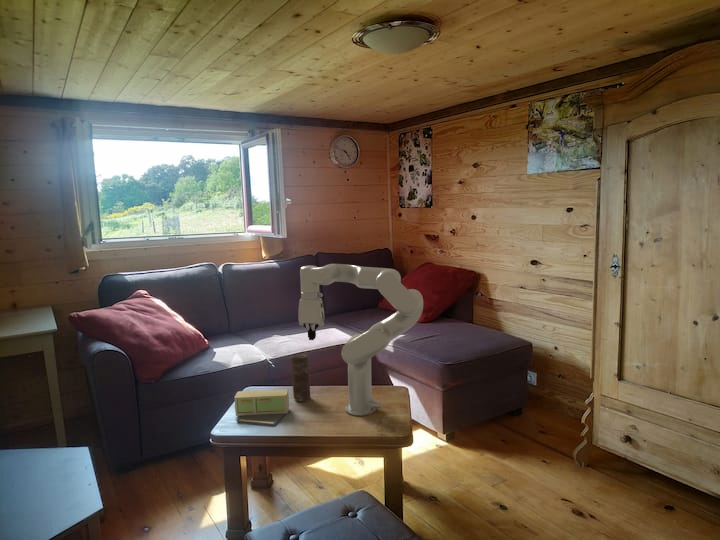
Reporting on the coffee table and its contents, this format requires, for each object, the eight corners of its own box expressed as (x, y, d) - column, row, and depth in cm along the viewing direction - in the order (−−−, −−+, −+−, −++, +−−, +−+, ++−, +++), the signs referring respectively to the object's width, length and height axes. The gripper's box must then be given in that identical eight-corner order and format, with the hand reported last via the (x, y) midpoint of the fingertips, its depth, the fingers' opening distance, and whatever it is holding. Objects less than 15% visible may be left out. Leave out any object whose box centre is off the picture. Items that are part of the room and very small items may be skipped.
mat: (288, 411, 203) (288, 409, 203) (274, 426, 190) (274, 424, 190) (253, 408, 207) (252, 406, 207) (237, 422, 194) (236, 420, 193)
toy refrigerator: (287, 414, 198) (234, 416, 197) (289, 407, 206) (238, 408, 205) (286, 396, 197) (233, 397, 196) (288, 389, 204) (237, 390, 203)
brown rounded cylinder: (290, 401, 213) (288, 357, 210) (297, 395, 220) (295, 352, 217) (306, 403, 211) (304, 358, 208) (313, 396, 218) (311, 353, 215)
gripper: (330, 294, 203) (331, 337, 206) (296, 293, 207) (298, 336, 209) (324, 298, 196) (326, 342, 198) (289, 297, 200) (291, 341, 202)
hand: (312, 339), depth 204 cm, fingers closed
